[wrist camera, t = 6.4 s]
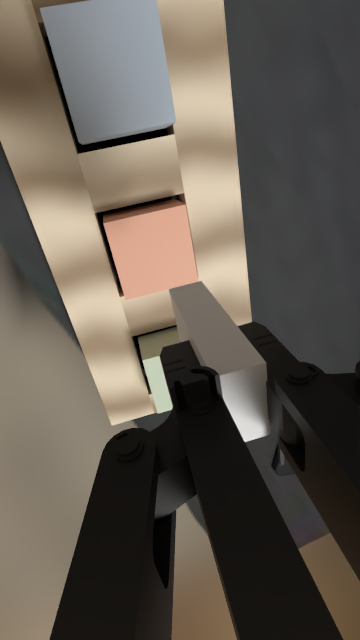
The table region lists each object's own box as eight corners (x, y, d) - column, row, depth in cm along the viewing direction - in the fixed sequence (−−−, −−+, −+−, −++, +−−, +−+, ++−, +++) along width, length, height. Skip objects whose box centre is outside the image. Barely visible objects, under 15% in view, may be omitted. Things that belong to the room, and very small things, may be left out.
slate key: (50, 35, 20) (39, 8, 16) (146, 19, 20) (155, -10, 17) (82, 144, 23) (78, 142, 19) (165, 128, 23) (176, 122, 20)
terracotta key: (103, 214, 26) (103, 223, 23) (174, 198, 27) (185, 204, 23) (122, 283, 29) (125, 300, 25) (187, 267, 30) (198, 281, 26)
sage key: (137, 337, 30) (142, 360, 27) (199, 320, 31) (211, 341, 27) (151, 386, 33) (157, 413, 29) (208, 370, 34) (220, 395, 30)
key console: (-46, -4, 20) (-65, -24, 17) (205, -41, 21) (217, -64, 19) (111, 409, 36) (111, 425, 33) (248, 369, 37) (257, 382, 35)
